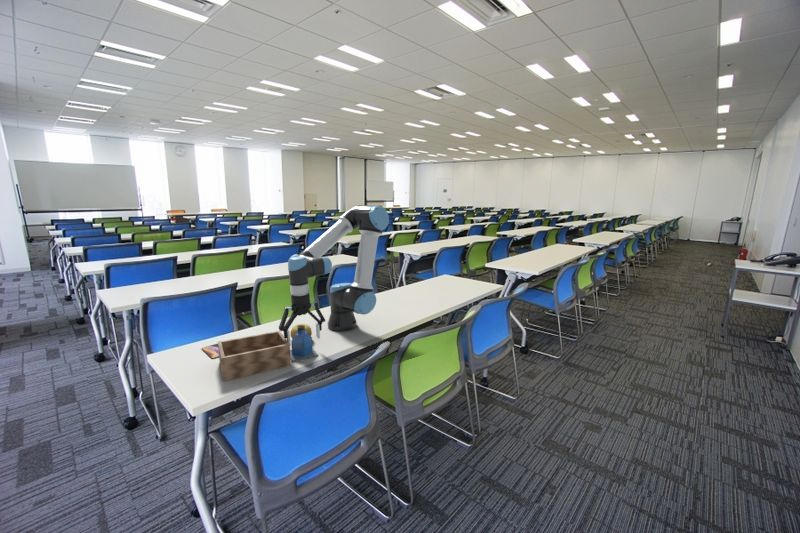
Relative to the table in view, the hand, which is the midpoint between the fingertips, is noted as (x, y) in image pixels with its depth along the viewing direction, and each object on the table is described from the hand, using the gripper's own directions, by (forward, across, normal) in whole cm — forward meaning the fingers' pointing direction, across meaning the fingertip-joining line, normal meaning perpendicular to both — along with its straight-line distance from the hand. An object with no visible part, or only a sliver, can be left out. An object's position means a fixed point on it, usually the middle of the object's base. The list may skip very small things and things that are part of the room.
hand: (304, 341), depth 148 cm
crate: (+5, +20, 0) cm, 21 cm away
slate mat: (+6, +1, 0) cm, 6 cm away
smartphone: (+5, +33, -22) cm, 40 cm away
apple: (+6, -3, -15) cm, 16 cm away
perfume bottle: (+5, +1, 0) cm, 5 cm away
